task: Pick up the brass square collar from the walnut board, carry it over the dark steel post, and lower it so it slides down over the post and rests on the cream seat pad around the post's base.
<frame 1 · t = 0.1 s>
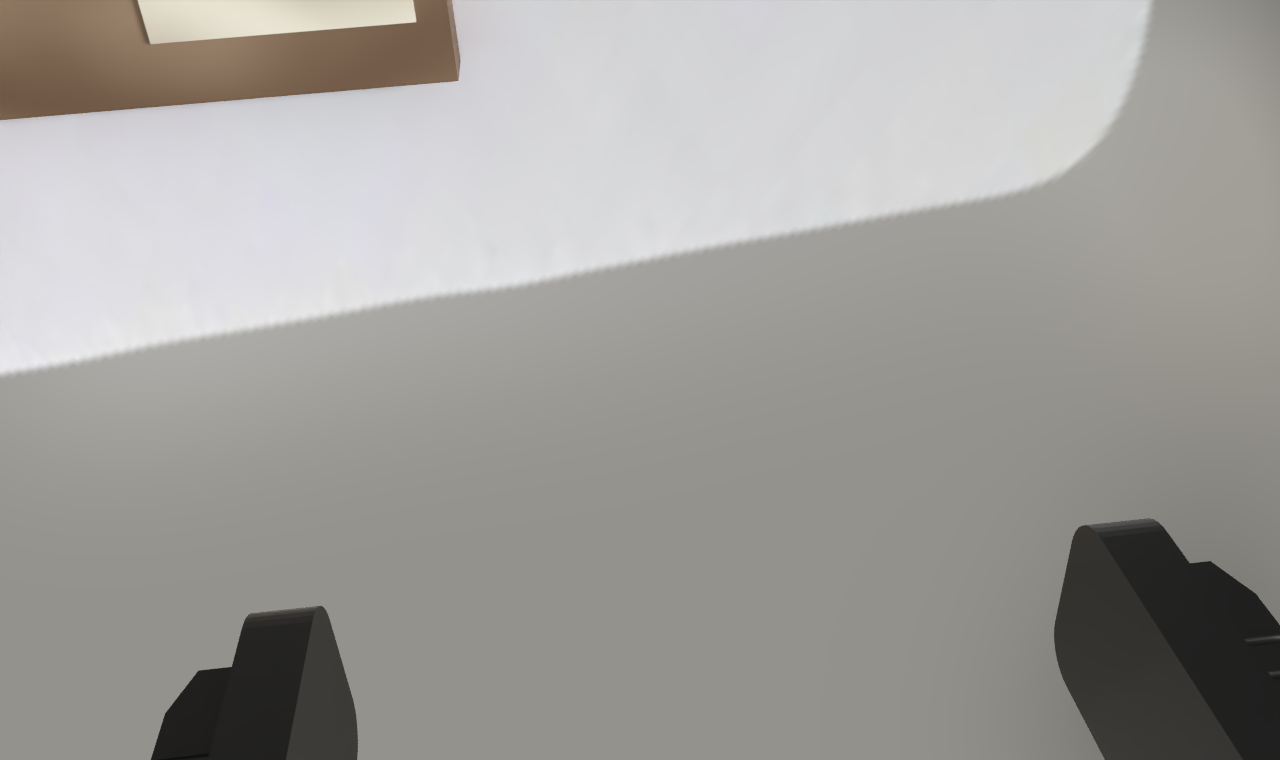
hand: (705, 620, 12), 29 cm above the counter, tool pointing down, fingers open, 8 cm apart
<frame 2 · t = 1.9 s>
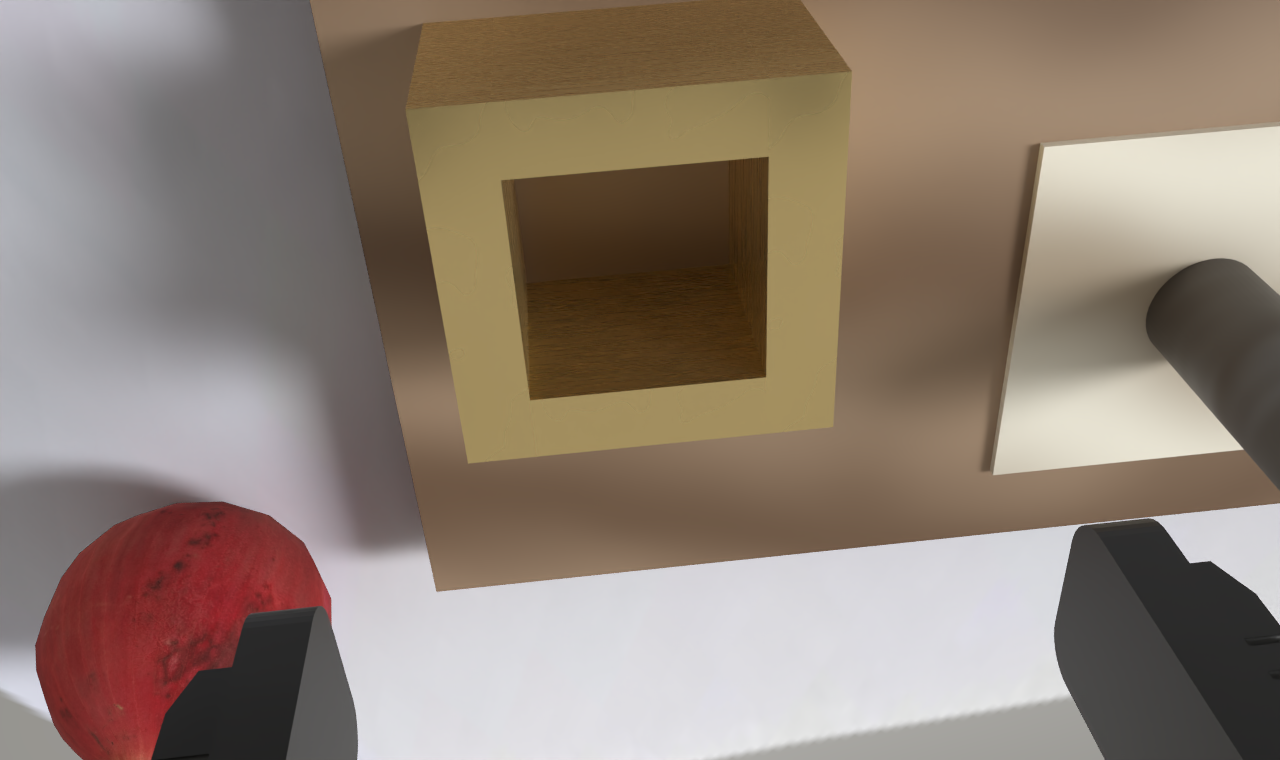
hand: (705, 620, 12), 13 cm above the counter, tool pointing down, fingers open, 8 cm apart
collar: (622, 180, 21), point 2 cm above the counter, touching post board
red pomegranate: (229, 518, 28), on the counter
post board: (899, 202, 24), on the counter
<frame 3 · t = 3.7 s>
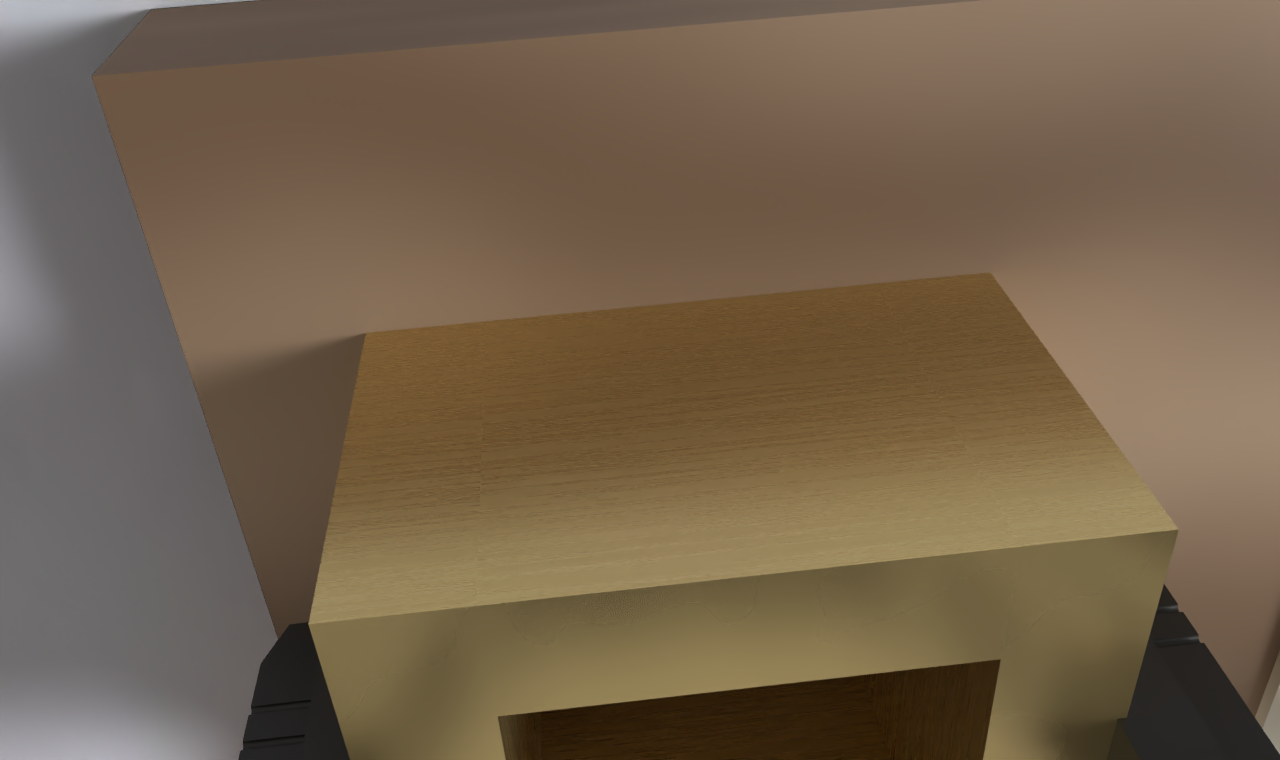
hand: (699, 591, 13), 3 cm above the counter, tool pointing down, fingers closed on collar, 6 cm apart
collar: (691, 538, 13), point 2 cm above the counter, touching gripper, post board
post board: (1089, 505, 16), on the counter
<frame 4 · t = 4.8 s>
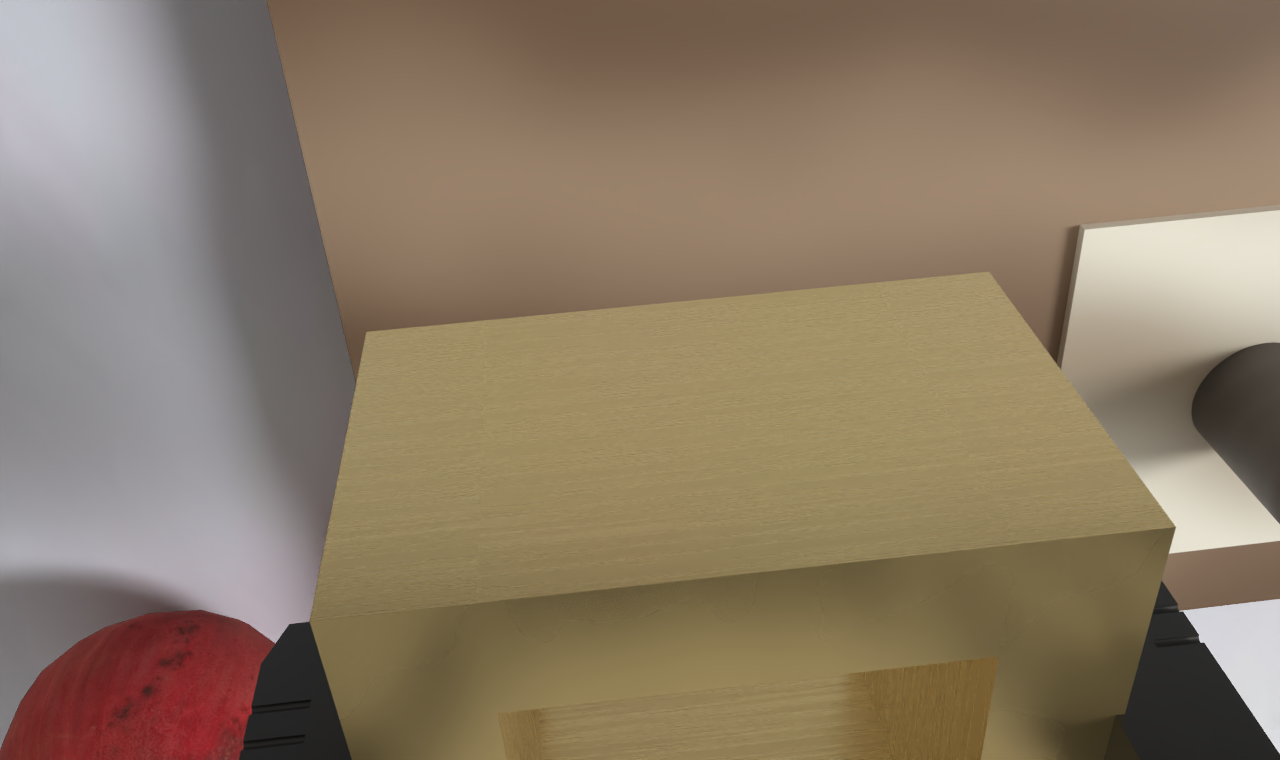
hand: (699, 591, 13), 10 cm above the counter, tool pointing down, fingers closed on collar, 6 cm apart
collar: (691, 536, 13), point 9 cm above the counter, touching gripper
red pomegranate: (206, 621, 26), on the counter
post board: (924, 282, 23), on the counter
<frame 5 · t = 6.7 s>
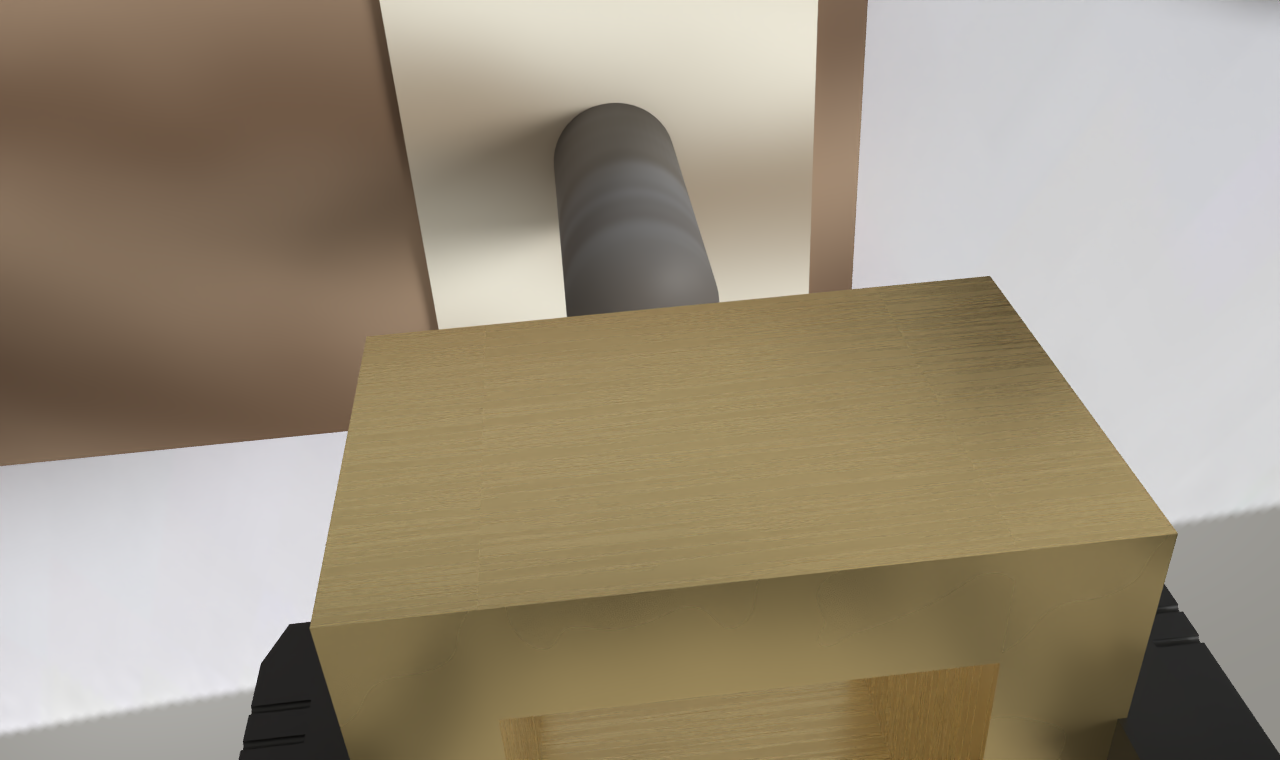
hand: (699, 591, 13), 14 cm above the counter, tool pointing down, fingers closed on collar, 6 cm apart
collar: (691, 540, 13), point 13 cm above the counter, touching gripper
post board: (303, 52, 23), on the counter
when the fingers open (5 cm above the counter, at t = 9.6 s): collar drops 2 cm, resting on post board.
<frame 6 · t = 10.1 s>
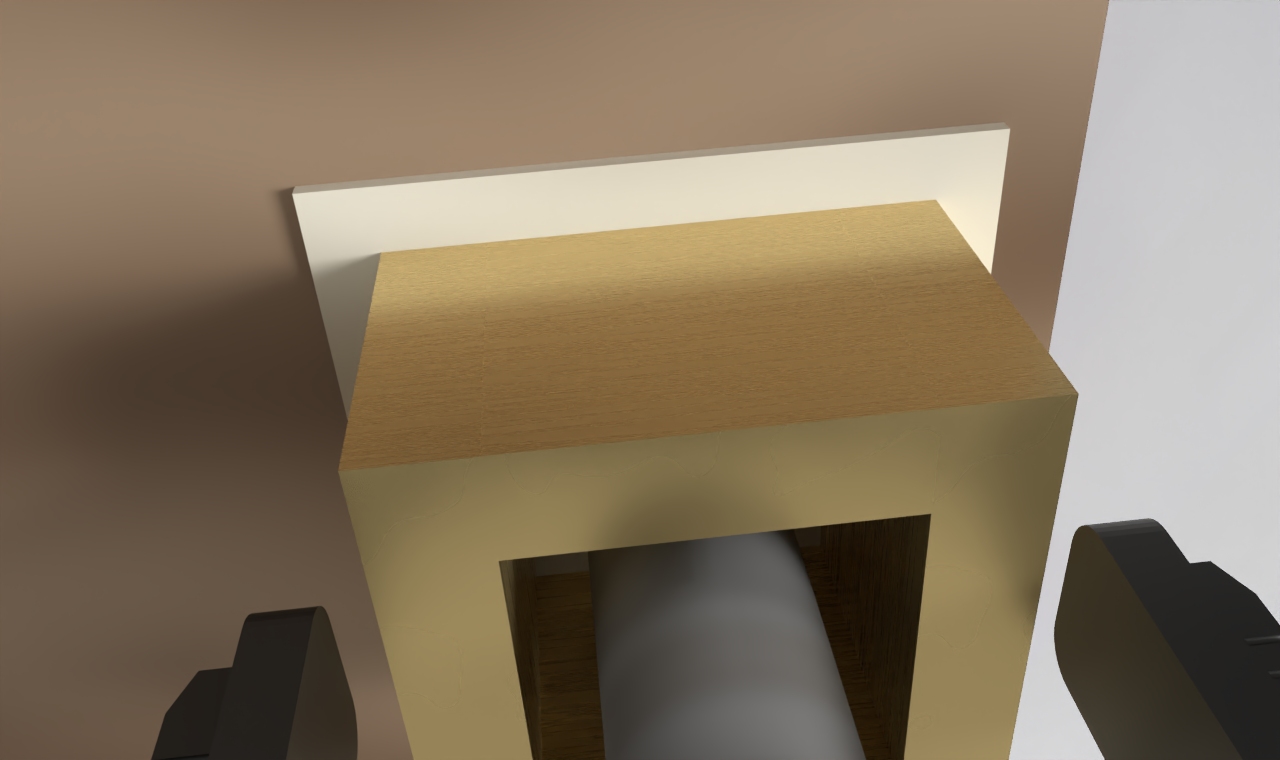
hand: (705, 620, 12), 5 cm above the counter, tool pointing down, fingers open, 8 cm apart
collar: (673, 447, 15), point 2 cm above the counter, touching post board
post board: (200, 276, 15), on the counter
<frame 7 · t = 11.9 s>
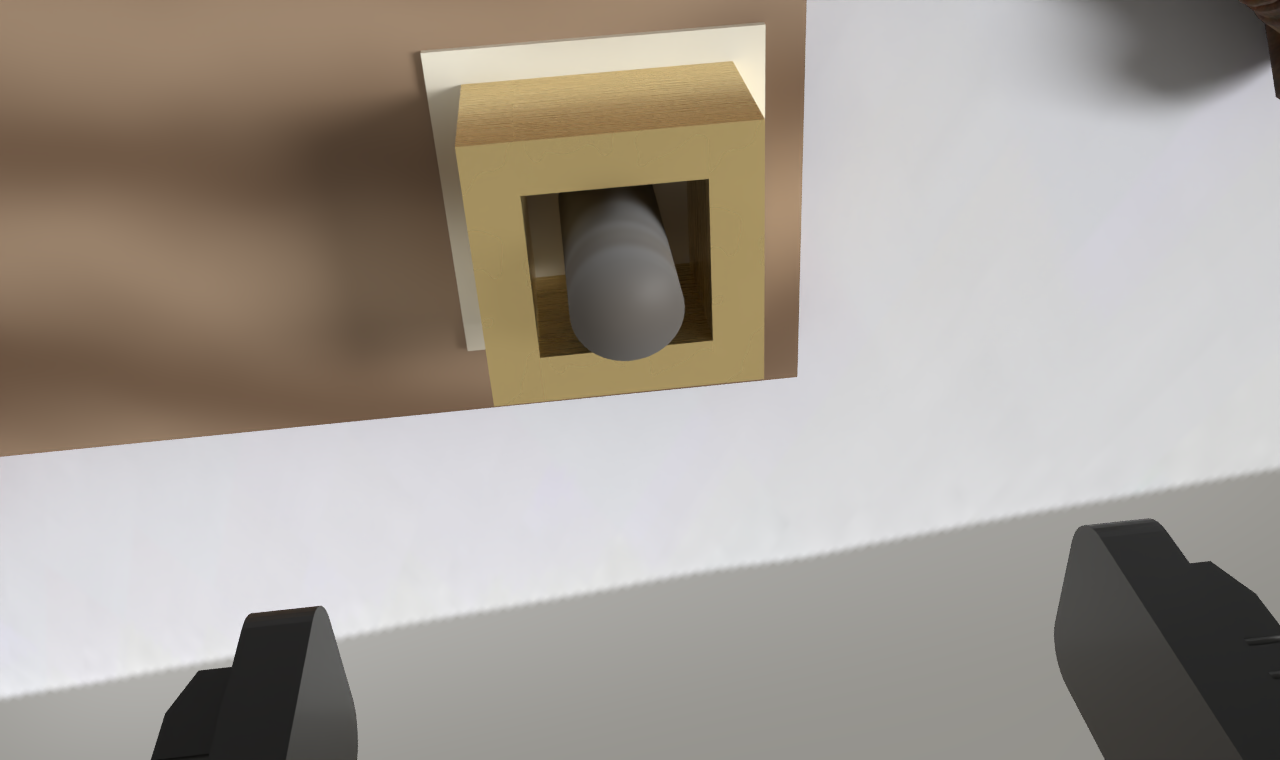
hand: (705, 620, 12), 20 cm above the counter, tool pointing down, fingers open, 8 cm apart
collar: (607, 198, 29), point 2 cm above the counter, touching post board
post board: (359, 112, 29), on the counter
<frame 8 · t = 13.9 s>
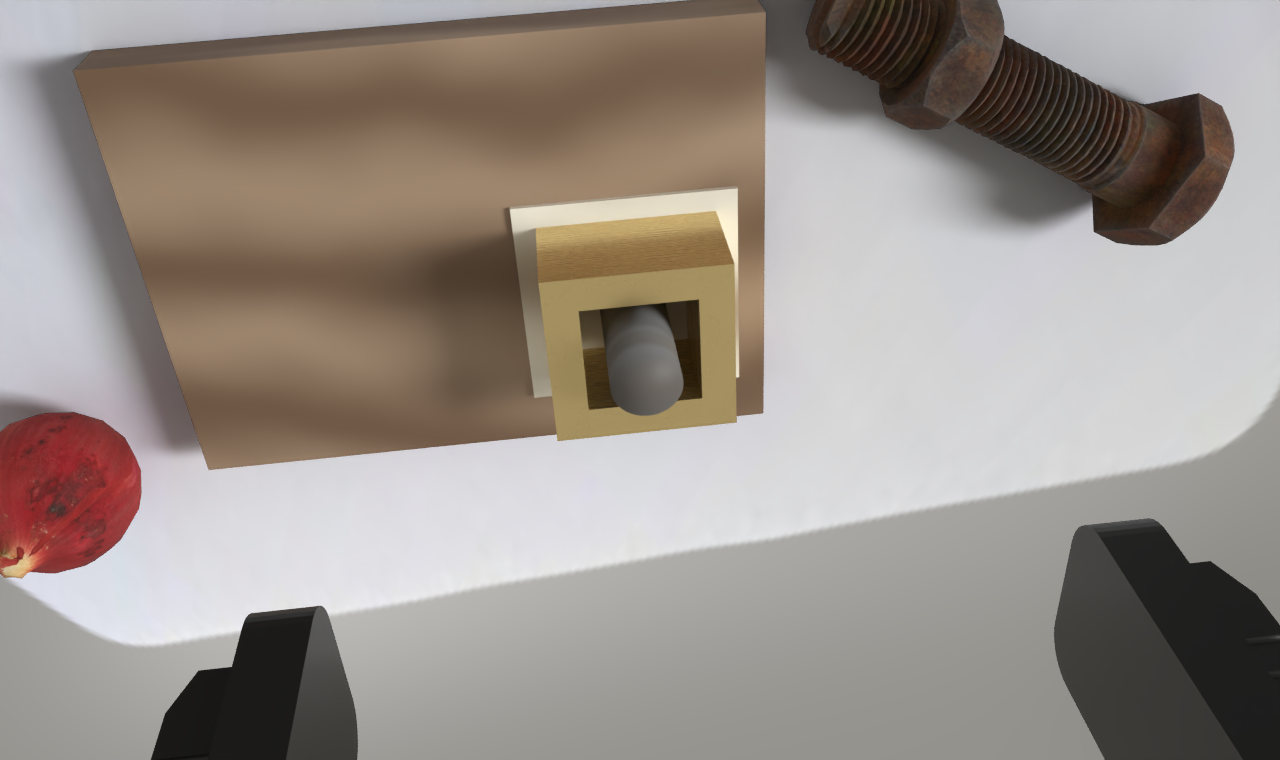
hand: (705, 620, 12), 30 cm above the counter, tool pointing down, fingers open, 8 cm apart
bolt: (988, 68, 41), on the counter
collar: (631, 298, 42), point 2 cm above the counter, touching post board
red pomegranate: (87, 429, 46), on the counter
post board: (462, 237, 43), on the counter
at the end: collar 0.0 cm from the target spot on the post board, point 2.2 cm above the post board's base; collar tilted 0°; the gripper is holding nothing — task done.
